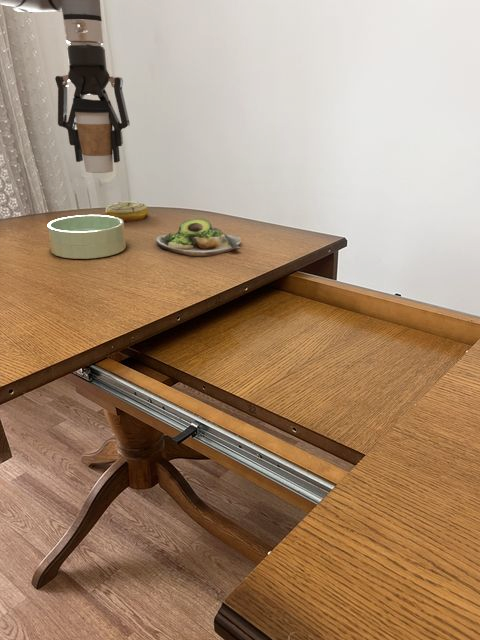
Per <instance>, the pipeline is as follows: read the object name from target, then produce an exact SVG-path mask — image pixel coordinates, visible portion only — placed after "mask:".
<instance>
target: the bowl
mask: <svg viewBox="0 0 480 640" xmlns="http://www.w3.org/2000/svg"><path fill="white" fill-rule="evenodd" d="M47 232H48V238H49V246H50V251H51V253H52V254H53V255H54V256H57V257H60V258H65V259H73V260H74V259H75V260H77V259H78V260H79V259H80V260H81V259H82V260H89V259H99V258H105V257H110V256H113V255H117V254H119V253H121V252H123V251H125V249H126V248H127V242H126V231H125V221H123V220H122V219H119V218H116V217H112V216H107V215H102V214H86V215H85V214H83V215H73V216H67V217H61V218H57V219H54V220H51V221H50V222H48V223H47Z"/></svg>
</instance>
